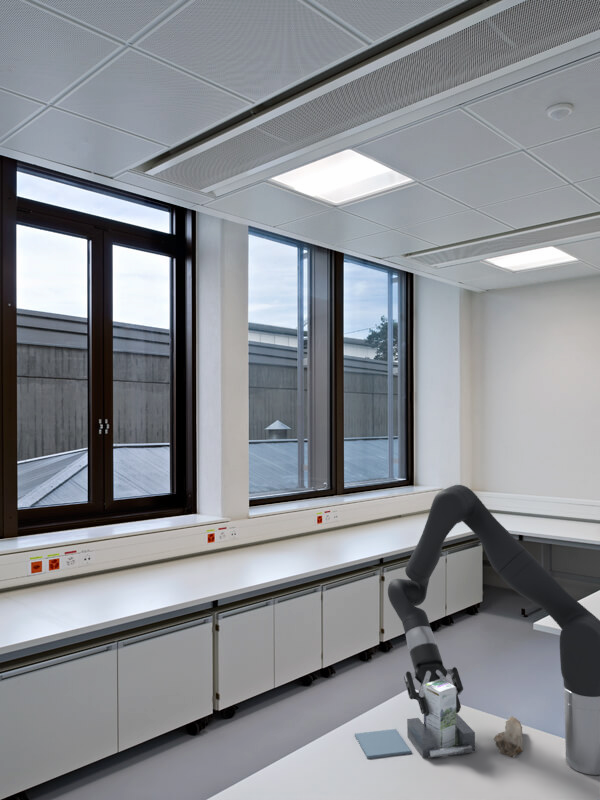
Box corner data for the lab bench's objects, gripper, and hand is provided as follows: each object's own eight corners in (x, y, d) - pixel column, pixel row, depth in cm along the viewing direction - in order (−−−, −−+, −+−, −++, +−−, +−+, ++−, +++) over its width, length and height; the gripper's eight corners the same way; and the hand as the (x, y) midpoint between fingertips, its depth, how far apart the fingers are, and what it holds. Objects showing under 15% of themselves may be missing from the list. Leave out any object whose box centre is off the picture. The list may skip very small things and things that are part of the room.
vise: (457, 731, 162) (456, 713, 162) (478, 754, 150) (477, 735, 150) (407, 737, 159) (407, 719, 159) (425, 761, 148) (424, 741, 148)
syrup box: (440, 735, 160) (438, 677, 160) (457, 745, 155) (456, 685, 155) (423, 742, 156) (422, 683, 157) (441, 752, 151) (439, 691, 152)
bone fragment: (520, 760, 148) (519, 739, 148) (493, 753, 151) (492, 733, 152) (532, 735, 160) (531, 716, 160) (506, 729, 163) (505, 711, 163)
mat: (395, 731, 162) (395, 728, 162) (411, 753, 151) (411, 750, 151) (354, 736, 160) (354, 733, 160) (367, 758, 149) (367, 756, 149)
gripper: (400, 644, 162) (418, 710, 150) (452, 639, 165) (474, 704, 153) (394, 657, 167) (410, 722, 155) (444, 653, 170) (465, 716, 158)
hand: (442, 713), depth 154 cm, fingers closed on syrup box, 7 cm apart
